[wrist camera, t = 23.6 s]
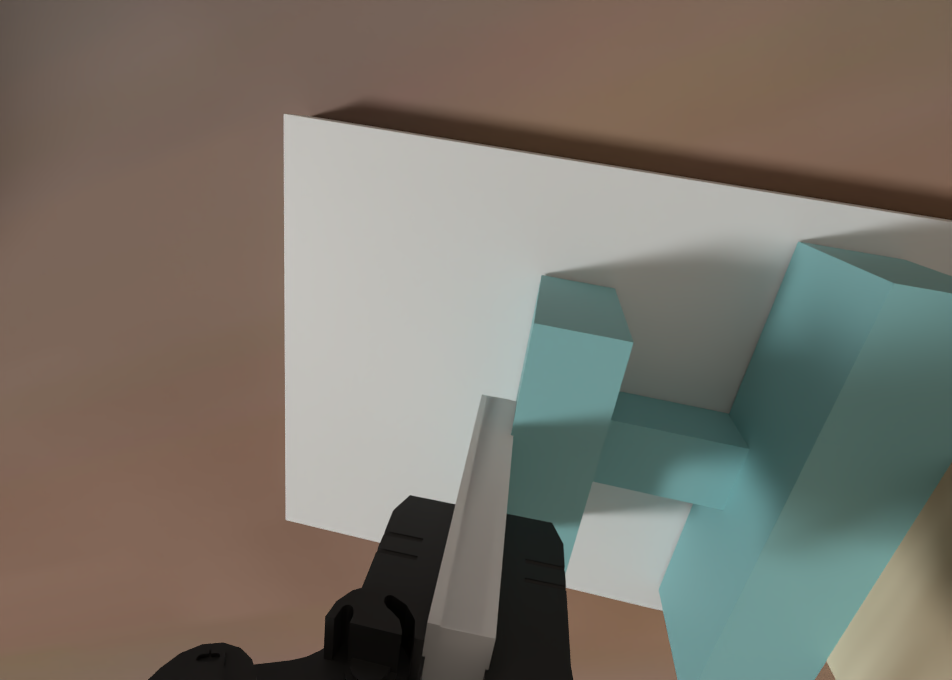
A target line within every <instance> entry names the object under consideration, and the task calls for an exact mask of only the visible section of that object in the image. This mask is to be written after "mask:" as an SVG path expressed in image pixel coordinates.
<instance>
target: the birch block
mask: <svg viewBox="0 0 952 680" xmlns="http://www.w3.org/2000/svg"><path fill="white" fill-rule="evenodd" d="M826 661H827V663H828V665H829V667H830V669H831V671H832V673H833V675H834V677H835V679H836V680H952V463H951V464H950V466H949V467H948V469H947V471H946V472H945V474H944V475H943V477H942V478H941V480H940V482H939V483H938V485H937V486H936V488H935V489H934V491H933V493H932V494H931V496H930V497H929V499H928V501H927V502H926V504H925V505H924V507H923V508H922V510H921V512H920V513H919V515H918V516H917V518H916V520H915V521H914V523H913V524H912V526H911V527H910V529H909V531H908V532H907V534H906V535H905V537H904V539H903V540H902V542H901V543H900V545H899V546H898V548H897V550H896V551H895V553H894V554H893V556H892V557H891V559H890V561H889V562H888V564H887V565H886V567H885V569H884V570H883V572H882V573H881V575H880V576H879V578H878V580H877V581H876V583H875V584H874V586H873V588H872V589H871V591H870V592H869V594H868V595H867V597H866V599H865V600H864V602H863V603H862V605H861V607H860V608H859V610H858V611H857V613H856V614H855V616H854V618H853V619H852V621H851V622H850V624H849V625H848V627H847V629H846V630H845V632H844V633H843V635H842V637H841V638H840V640H839V641H838V643H837V644H836V646H835V648H834V649H833V651H832V652H831V654H830V656H829V657H828V659H827V660H826Z"/></svg>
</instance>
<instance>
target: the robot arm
mask: <svg viewBox="0 0 952 680" xmlns="http://www.w3.org/2000/svg"><path fill="white" fill-rule="evenodd" d="M515 409H516V401H512V400H509V399H504V398H498V397H493V396H488V395H483V394H482V396H481V400H480V404H479V408H478V413H477V417H476V421H475V425H474V429H473V433H472V438H471V442H470V446H469V450H468V454H467V459H466V463H465V467H464V471H463V475H462V479H461V484H460V488H459V492H458V496H457V500H456V504H452V503H447V502H442V501H437V500H432V499H427V498H422V497H417V496H412V495H409V496H408V497H407V498H406V499H405V500H404V501H403V502H402V503H401V504H400V505H398V506H397V507H396V508H395V509H394V510H393V512H392V514H391V517H390V519H389V522H388V524H387V527H386V529H385V533H384V535H383V537H382V539H381V542H380V544H379V547H378V551H377V552H376V554H375V557H374V559H373V562H372V564H371V567H370V569H369V572H368V574H367V576H366V579H365V581H364V584H363V586H362V588H360V589H356V590H353V591H351V592H350V593H348V594H347V595H345V596H344V597H342V598H341V599H339V600H338V601H336V603H335V604H334V605H333V607H332V608H331V610H330V611H329V612H328V614H327V615H326V616H325V638H324V648H323V649H322V650H320V651H318V652H316V653H314V654H312V655H309V656H307V657H304V658H299V659H295V660H290V661H281V662H273V663H264V664H255V665H253V661H252V659H251V658H250V657H249V656H248V655H247V654H246V653H245V652H244V651H243V650H242V649H241V648H239V647H236V646H233V645H229V644H226V643H213V644H202V645H200V646H197V647H195V648H192V649H190V650H187V651H185V652H182V653H180V654H179V655H177V656H176V657H175V658H173V659H172V660H171V661H169V662H168V663H167V664H165V665H164V666H163V667H161V668H160V669H159V670H158V671H157V672H156V673H155V674H154V675H153V676H152V677H150V678H149V679H148V680H573V676H572V670H571V662H570V645H569V628H568V611H567V595H566V591H565V589H566V578H565V571H564V569H565V561H564V544H563V542H562V540H561V538H560V537H559V535H558V533H557V531H556V529H555V527H554V525H553V523H551V522H546V521H541V520H536V519H531V518H526V517H521V516H516V515H511V514H507V503H508V492H509V480H510V469H511V457H512V446H513V436H512V435H511V432H512V426H513V420H514V415H515Z"/></svg>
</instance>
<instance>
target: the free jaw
mask: <svg viewBox="0 0 952 680" xmlns="http://www.w3.org/2000/svg"><path fill="white" fill-rule="evenodd" d="M633 343H634V342H633V339H632V336H631V333H630V331H629V328H628V325H627V322H626V319H625V316H624V313H623V310H622V307H621V305H620V302H619V299H618V296H617V293H616V290H615V288H609V287H604V286H598V285H593V284H588V283H582V282H577V281H571V280H566V279H560V278H555V277H550V276H544V275H541V280H540V285H539V290H538V295H537V300H536V305H535V310H534V314H533V319H532V324H531V329H530V334H529V339H528V344H527V349H526V354H525V359H524V364H523V369H522V373H521V378H520V383H519V388H518V393H517V398H516V409H515V415H514V420H513V426H512V432H511V435H512V436H513V446H512V457H511V469H510V480H509V492H508V503H507V514H511V515H516V516H521V517H526V518H531V519H536V520H541V521H546V522H551V523H553V525H554V527H555V529H556V531H557V533H558V535H559V537H560V538H561V540H562V542H563V544H564V561H565V569H564V571H565V574H566V571H567V567H568V564H569V560H570V557H571V554H572V550H573V547H574V543H575V540H576V537H577V533H578V530H579V526H580V523H581V520H582V516H583V513H584V509H585V506H586V503H587V499H588V496H589V492H590V489H591V486H592V482H597V483H601V484H606V485H610V486H615V487H619V488H624V489H629V490H633V491H638V492H642V493H647V494H651V495H656V496H660V497H665V498H669V499H674V500H678V501H683V502H687V503H692V504H693V505H692V508H691V510H690V513H689V515H688V518H687V520H686V523H685V525H684V527H683V530H682V532H681V535H680V537H679V540H678V542H677V545H676V547H675V550H674V552H673V555H672V557H671V560H670V562H669V565H668V567H667V570H666V572H665V575H664V577H663V580H662V582H661V585H660V587H659V594H660V599H661V603H662V608H663V613H664V618H665V622H666V627H667V632H668V637H669V641H670V646H671V651H672V655H673V660H674V665H675V670H676V674H677V679H678V680H815V678H816V677H817V675H818V673H819V672H820V670H821V669H822V667H823V666H824V664H825V662H826V660H827V659H828V657H829V656H830V654H831V652H832V651H833V649H834V648H835V646H836V644H837V643H838V641H839V640H840V638H841V637H842V635H843V633H844V632H845V630H846V629H847V627H848V625H849V624H850V622H851V621H852V619H853V618H854V616H855V614H856V613H857V611H858V610H859V608H860V607H861V605H862V603H863V602H864V600H865V599H866V597H867V595H868V594H869V592H870V591H871V589H872V588H873V586H874V584H875V583H876V581H877V580H878V578H879V576H880V575H881V573H882V572H883V570H884V569H885V567H886V565H887V564H888V562H889V561H890V559H891V557H892V556H893V554H894V553H895V551H896V550H897V548H898V546H899V545H900V543H901V542H902V540H903V539H904V537H905V535H906V534H907V532H908V531H909V529H910V527H911V526H912V524H913V523H914V521H915V520H916V518H917V516H918V515H919V513H920V512H921V510H922V508H923V507H924V505H925V504H926V502H927V501H928V499H929V497H930V496H931V494H932V493H933V491H934V489H935V488H936V486H937V485H938V483H939V482H940V480H941V478H942V477H943V475H944V474H945V472H946V471H947V469H948V467H949V466H950V464H951V463H952V276H950V275H947V274H944V273H941V272H938V271H936V270H933V269H930V268H927V267H924V266H921V265H919V264H916V263H913V262H910V261H907V260H904V259H898V258H892V257H886V256H880V255H874V254H868V253H863V252H857V251H851V250H845V249H839V248H833V247H827V246H822V245H816V244H810V243H804V242H798V243H797V246H796V248H795V251H794V253H793V256H792V258H791V261H790V263H789V266H788V268H787V271H786V273H785V276H784V278H783V280H782V283H781V285H780V288H779V290H778V293H777V295H776V298H775V300H774V303H773V305H772V308H771V310H770V313H769V315H768V318H767V320H766V323H765V325H764V328H763V330H762V333H761V335H760V338H759V340H758V343H757V345H756V348H755V350H754V353H753V355H752V358H751V360H750V363H749V365H748V368H747V370H746V373H745V375H744V378H743V380H742V383H741V385H740V388H739V390H738V393H737V395H736V398H735V400H734V403H733V405H732V408H731V410H730V413H724V412H719V411H714V410H709V409H704V408H699V407H694V406H689V405H684V404H680V403H675V402H670V401H665V400H660V399H655V398H650V397H645V396H640V395H635V394H630V393H625V392H620V387H621V384H622V380H623V377H624V374H625V370H626V367H627V363H628V360H629V357H630V353H631V350H632V346H633Z"/></svg>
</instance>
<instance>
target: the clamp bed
mask: <svg viewBox="0 0 952 680" xmlns="http://www.w3.org/2000/svg"><path fill="white" fill-rule="evenodd" d="M798 242H804V243H810V244H816V245H822V246H827V247H833V248H839V249H845V250H851V251H857V252H863V253H868V254H874V255H880V256H886V257H892V258H898V259H904V260H907V261H910V262H913V263H916V264H919V265H921V266H924V267H927V268H930V269H933V270H936V271H938V272H941V273H944V274H947V275H950V276H952V220H948V219H941V218H935V217H929V216H923V215H917V214H911V213H904V212H898V211H892V210H886V209H880V208H874V207H867V206H861V205H855V204H849V203H843V202H837V201H830V200H824V199H818V198H812V197H806V196H800V195H793V194H787V193H781V192H775V191H769V190H763V189H756V188H750V187H744V186H738V185H732V184H726V183H719V182H713V181H707V180H701V179H695V178H689V177H682V176H676V175H670V174H664V173H658V172H652V171H645V170H639V169H633V168H627V167H621V166H615V165H608V164H602V163H596V162H590V161H584V160H577V159H571V158H565V157H559V156H553V155H547V154H540V153H534V152H528V151H522V150H516V149H510V148H503V147H497V146H491V145H485V144H479V143H473V142H466V141H460V140H454V139H448V138H442V137H436V136H429V135H423V134H417V133H411V132H405V131H399V130H392V129H386V128H380V127H374V126H368V125H362V124H355V123H349V122H343V121H337V120H331V119H325V118H318V117H312V116H303V115H292V114H284V268H285V469H286V520H288V521H292V522H297V523H301V524H305V525H309V526H313V527H317V528H321V529H326V530H330V531H334V532H338V533H342V534H346V535H350V536H355V537H359V538H363V539H367V540H371V541H375V542H379V543H380V542H381V539H382V537H383V535H384V533H385V529H386V527H387V524H388V522H389V519H390V517H391V514H392V512H393V510H394V509H395V508H396V507H397V506H398V505H400V504H401V503H402V502H403V501H404V500H405V499H406V498H407V497H408V496H409V495H412V496H417V497H422V498H427V499H432V500H437V501H442V502H447V503H452V504H456V500H457V496H458V492H459V488H460V484H461V479H462V475H463V471H464V467H465V463H466V459H467V454H468V450H469V446H470V442H471V438H472V433H473V429H474V425H475V421H476V417H477V413H478V408H479V404H480V400H481V396H482V394H483V395H488V396H493V397H498V398H504V399H509V400H512V401H516V398H517V393H518V388H519V383H520V378H521V373H522V369H523V364H524V359H525V354H526V349H527V344H528V339H529V334H530V329H531V324H532V319H533V314H534V310H535V305H536V300H537V295H538V290H539V285H540V280H541V275H544V276H550V277H555V278H560V279H566V280H571V281H577V282H582V283H588V284H593V285H598V286H604V287H609V288H615V290H616V293H617V296H618V299H619V302H620V305H621V307H622V310H623V313H624V316H625V319H626V322H627V325H628V328H629V331H630V333H631V336H632V339H633V342H634V343H633V346H632V350H631V353H630V357H629V360H628V363H627V367H626V370H625V374H624V377H623V380H622V384H621V387H620V392H625V393H630V394H635V395H640V396H645V397H650V398H655V399H660V400H665V401H670V402H675V403H680V404H684V405H689V406H694V407H699V408H704V409H709V410H714V411H719V412H724V413H730V410H731V408H732V405H733V403H734V400H735V398H736V395H737V393H738V390H739V388H740V385H741V383H742V380H743V378H744V375H745V373H746V370H747V368H748V365H749V363H750V360H751V358H752V355H753V353H754V350H755V348H756V345H757V343H758V340H759V338H760V335H761V333H762V330H763V328H764V325H765V323H766V320H767V318H768V315H769V313H770V310H771V308H772V305H773V303H774V300H775V298H776V295H777V293H778V290H779V288H780V285H781V283H782V280H783V278H784V276H785V273H786V271H787V268H788V266H789V263H790V261H791V258H792V256H793V253H794V251H795V248H796V246H797V243H798ZM692 505H693V504H692V503H687V502H683V501H678V500H674V499H669V498H665V497H660V496H656V495H651V494H647V493H642V492H638V491H633V490H629V489H624V488H619V487H615V486H610V485H606V484H601V483H597V482H592V486H591V489H590V492H589V496H588V499H587V503H586V506H585V509H584V513H583V516H582V520H581V523H580V526H579V530H578V533H577V537H576V540H575V543H574V547H573V550H572V554H571V557H570V560H569V564H568V567H567V571H566V574H565V578H566V588H570V589H574V590H578V591H582V592H587V593H591V594H595V595H599V596H603V597H607V598H611V599H616V600H620V601H624V602H628V603H632V604H636V605H640V606H645V607H649V608H653V609H657V610H661V611H663V608H662V603H661V599H660V594H659V587H660V585H661V582H662V580H663V577H664V575H665V572H666V570H667V567H668V565H669V562H670V560H671V557H672V555H673V552H674V550H675V547H676V545H677V542H678V540H679V537H680V535H681V532H682V530H683V527H684V525H685V523H686V520H687V518H688V515H689V513H690V510H691V508H692Z"/></svg>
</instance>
